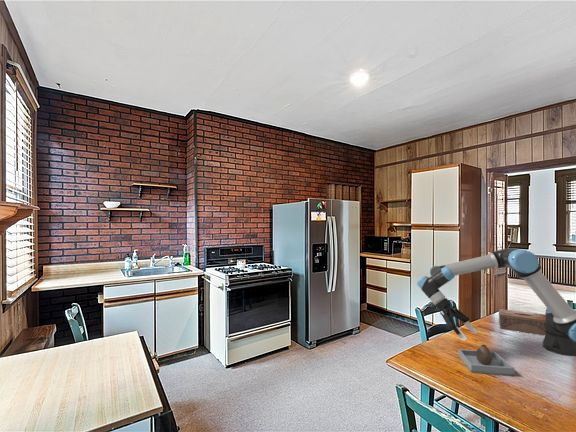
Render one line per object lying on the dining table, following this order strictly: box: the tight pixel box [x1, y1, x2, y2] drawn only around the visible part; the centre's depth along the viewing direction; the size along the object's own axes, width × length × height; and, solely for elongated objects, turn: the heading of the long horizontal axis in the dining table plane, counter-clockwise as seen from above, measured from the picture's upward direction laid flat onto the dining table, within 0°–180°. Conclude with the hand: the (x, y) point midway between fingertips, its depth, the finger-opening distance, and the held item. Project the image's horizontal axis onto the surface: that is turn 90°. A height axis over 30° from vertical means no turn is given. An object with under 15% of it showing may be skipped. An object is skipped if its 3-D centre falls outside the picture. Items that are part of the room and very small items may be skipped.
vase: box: [476, 344, 492, 365], centre depth 148 cm, size 7×7×9 cm
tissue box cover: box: [498, 308, 546, 336], centre depth 196 cm, size 26×14×10 cm, turn 57°
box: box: [457, 348, 515, 377], centre depth 148 cm, size 18×18×4 cm
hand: (470, 336), depth 153 cm, fingers open, 13 cm apart
